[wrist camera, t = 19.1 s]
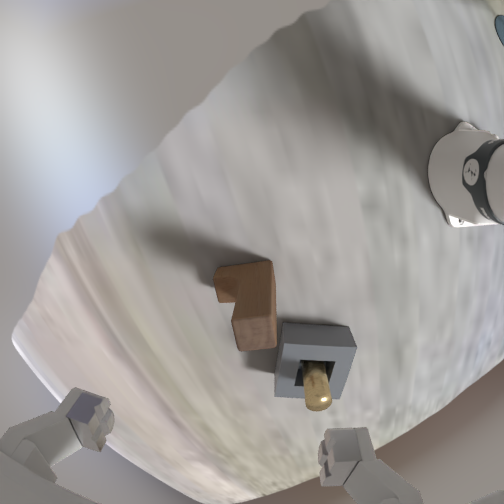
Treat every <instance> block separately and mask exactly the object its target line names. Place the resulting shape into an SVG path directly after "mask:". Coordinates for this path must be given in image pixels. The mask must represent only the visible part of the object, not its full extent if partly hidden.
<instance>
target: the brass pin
mask: <svg viewBox="0 0 504 504" xmlns="http://www.w3.org/2000/svg"><path fill="white" fill-rule="evenodd" d="M301 366H302V375H303V383H304V393H305V402H306V407H307V408H308V409H309V410H311V411H322V410H325V409H327V408H328V407H329V406H330V405H331V403H332V397H331V393H330V388H329V383H328V378H327V374H326V369H325V364H324V361H317V360H301Z"/></svg>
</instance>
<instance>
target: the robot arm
mask: <svg viewBox="0 0 504 504" xmlns="http://www.w3.org/2000/svg"><path fill="white" fill-rule="evenodd" d="M428 177H429V184H430V188H431V191H432V193H433V196H434V197H435V199H436V201H437V202H438V204H439V205H440V206H441V207H442V209H443V210H444V212H445V215H446V219H447V222H448V224H449V225H450V226H452V227H467V226H480V225H494V224H500V225H504V139H499V137H498V136H497V135H495V134H491V133H490V132H489V131H485V130H478V129H477V128H475V127H474V126H472V125H471V124H469V123H468V122H461V123H459V125H458V126H457V127H456V129H455V130H454V131H453V132H452V133H450V134H447V135H445V136H444V137H442V138H441V139H440V140H439V141H438V142H437V144H436V145H435V147H434V148H433V150H432V153H431V156H430V160H429V166H428ZM459 219H460V221H458V220H459ZM110 405H111V404H110V401H109V399H108V398H105V397H102V396H99V395H96V394H93V393H90V392H88V391H85V390H82V389H79V388H76V387H75V388H73V389H71V391H70V392H69V393H68V395H67V396H66V397H65V399H64V400H63V401H62V403H61V404H60V406H59V407H58V409H57V410H56V411H55V412H53V411H51V412H48V413H46V414H43V415H41V416H38V417H36V418H33V419H31V420H28V421H26V422H23V423H21V424H18V425H15V426H13V427H10V428H9V429H8V430H7V431H6V433H5V434H4V435H3V436H2V438H1V439H0V504H101V503H98V502H96V501H93V500H91V499H88V498H86V497H84V496H81V495H79V494H77V493H74V492H72V491H70V490H68V489H66V488H64V487H62V486H59V485H58V484H56V483H55V482H56V479H57V475H56V474H55V473H54V471H53V470H52V469H51V466H53V465H54V464H56V463H57V462H59V461H61V460H62V459H64V458H66V457H67V456H69V455H71V454H72V453H74V452H75V451H77V450H79V449H80V448H82V446H83V447H86V448H89V449H92V450H95V451H97V452H101V450H102V448H103V446H104V445H105V443H106V438H105V436H106V435H107V434H109V433H111V431H112V429H113V426H114V414H113V412H112V410H111V409H110V408H109V407H110ZM324 438H325V439H324V440H323V441H321V443H320V446H319V451H318V462H319V464H320V465H321V466H322V469H321V471H320V481H321V486H343V487H344V489H345V490H346V491H347V492H348V493H349V495H351V497H352V498H353V499H354V500H355V501H356V503H357V504H423V500H422V497H421V494H420V491H419V490H417V489H416V488H415V487H413V486H412V485H411V484H410V483H408V482H407V481H406V480H405V479H403V478H402V477H401V476H400V475H398V474H397V473H396V472H395V471H393V470H392V469H391V468H390V467H389V466H387V465H386V464H385V463H384V462H383V461H382V460H380V459H379V460H377V459H376V456H375V452H374V449H373V445H372V442H371V438H370V435H369V431H368V429H367V428H366V427H362V428H333V429H327V430H326V431H325V433H324ZM467 504H504V491H503V490H497V491H495V492H492V493H490V494H488V495H486V496H484V497H481V498H479V499H477V500H474V501H472V502H469V503H467Z"/></svg>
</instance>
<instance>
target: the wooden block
mask: <svg viewBox="0 0 504 504" xmlns="http://www.w3.org/2000/svg"><path fill="white" fill-rule="evenodd" d="M213 281H214V285H215V290H216V294H217V298H218V301H219V303H230V302H236V303H235V307H234V311H233V315H232V319H231V322H232V327H233V331H234V335H235V340H236V344H237V348H238V350H239V351H250V350H260V349H269V348H275V347H276V345H277V320H276V283H275V276H274V270H273V263H272V261H270V260H268V261H261V262H254V263H247V264H239V265H232V266H225V267H219V268H217V270H216V272H215V274H214V277H213Z"/></svg>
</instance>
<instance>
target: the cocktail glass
mask: <svg viewBox="0 0 504 504" xmlns="http://www.w3.org/2000/svg"><path fill="white" fill-rule="evenodd" d="M495 26H496V30H497V33H498V36H499V38H500V40H501V42H502V44H503V45H504V16H502V15H501V16H498V17H497V18H496V21H495Z"/></svg>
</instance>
